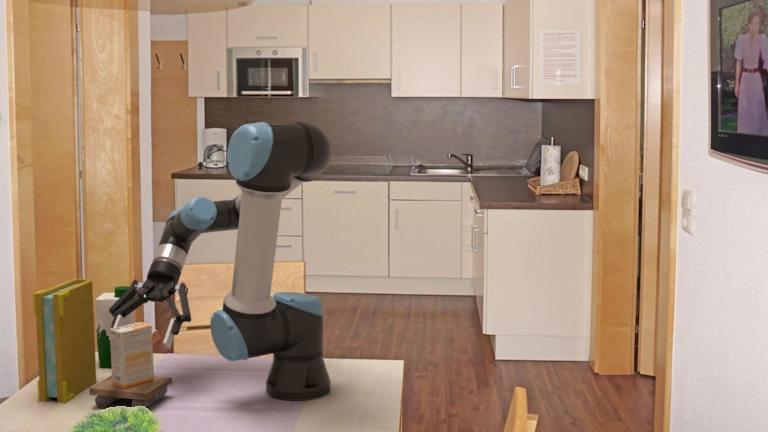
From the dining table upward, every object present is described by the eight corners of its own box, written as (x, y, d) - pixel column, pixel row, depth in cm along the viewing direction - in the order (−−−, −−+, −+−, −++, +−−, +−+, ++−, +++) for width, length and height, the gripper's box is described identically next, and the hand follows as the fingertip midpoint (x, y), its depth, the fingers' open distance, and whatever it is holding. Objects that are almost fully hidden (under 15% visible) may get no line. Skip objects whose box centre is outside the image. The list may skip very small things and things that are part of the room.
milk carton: (129, 369, 234) (127, 291, 231) (94, 368, 234) (91, 291, 231) (139, 358, 243) (136, 284, 240) (104, 358, 243) (101, 284, 240)
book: (65, 403, 209) (60, 295, 206) (38, 401, 210) (32, 293, 207) (102, 379, 225) (98, 279, 222) (77, 378, 227) (72, 278, 223)
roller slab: (172, 395, 214) (171, 376, 214) (147, 413, 203) (146, 393, 202) (117, 390, 218) (117, 372, 217) (90, 407, 206) (89, 388, 205)
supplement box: (142, 376, 214) (140, 321, 212) (154, 380, 211) (152, 324, 209) (110, 384, 208) (108, 327, 206) (122, 389, 205) (120, 331, 203)
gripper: (219, 278, 226) (194, 355, 214) (126, 272, 231) (97, 348, 219) (209, 261, 220) (184, 339, 208) (114, 256, 226) (84, 332, 213)
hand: (139, 344), depth 213 cm, fingers open, 13 cm apart
